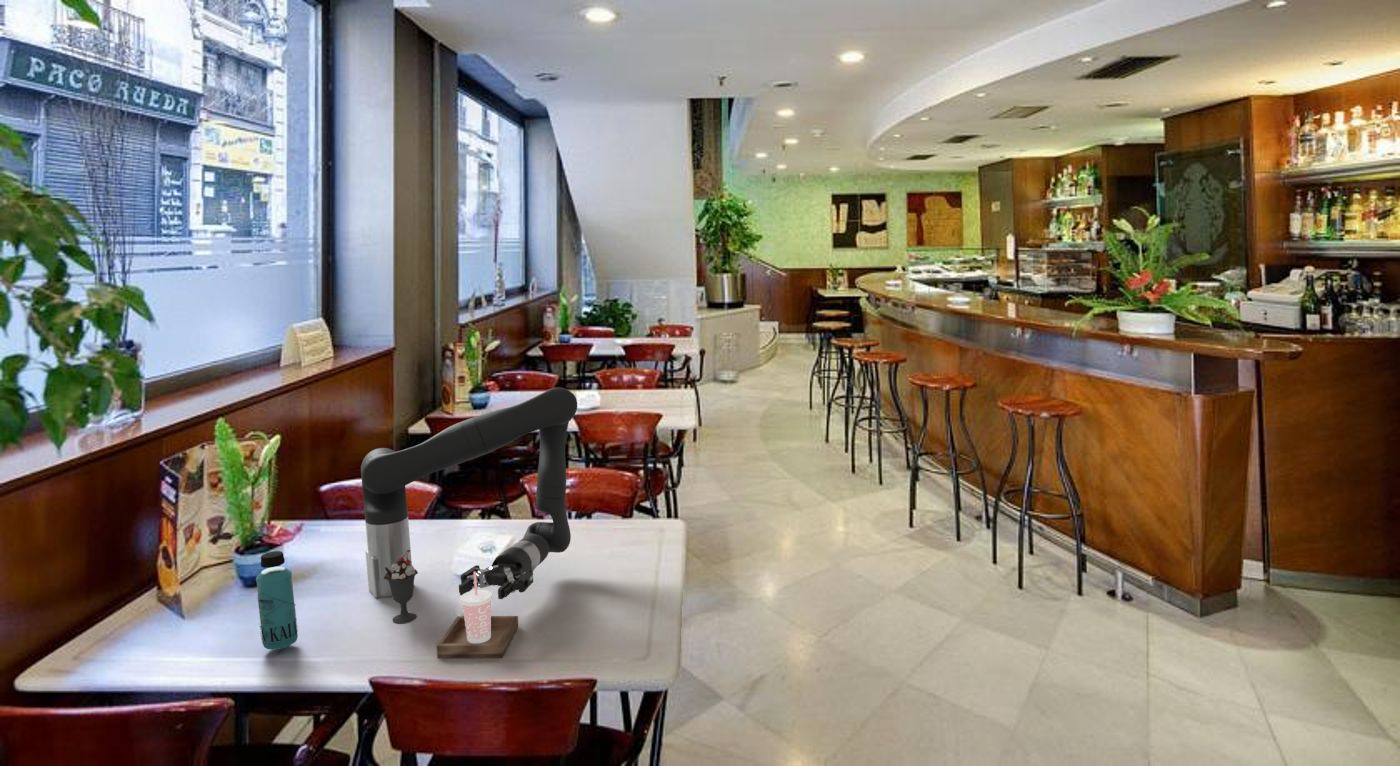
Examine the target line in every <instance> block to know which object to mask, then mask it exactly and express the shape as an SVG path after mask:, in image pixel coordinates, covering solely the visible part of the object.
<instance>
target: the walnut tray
mask: <svg viewBox="0 0 1400 766" xmlns="http://www.w3.org/2000/svg"><path fill="white" fill-rule="evenodd" d="M518 629H519V616H518V615H491V638H490V639H489V640H488V641H486V642H483V643H470V642H468V641H467V633H466V626H465V619H464V615H461V616H460V615H459V616H457V617H456V618H455V620H454V621H453V622H452V623H451V625H450V626H449V628H448V629H447V630H446V632H445V634H444V635H443V636H442V637H441V639H440V640H439V642H438V643H437V644H436V655H437V659H502V658H503V657H504V655H505V654H506V652H507V650H508V648H509V646H510V645H511V643H512V641H513V639H514V637H515V635H516V633H517V631H518Z"/></svg>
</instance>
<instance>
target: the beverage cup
mask: <svg viewBox="0 0 1400 766" xmlns="http://www.w3.org/2000/svg"><path fill="white" fill-rule="evenodd" d="M473 584H474V587H475V588H474V589H472V590H470V591H469V592H466V593H464V594H463V595H460V604H461V605H462V610H463V611H462V612H463V616H464V619H465V626H466V633H467V641H468V642H470V643H483V642H486V641H488V640H489V639H490V638H491V616H492V600H493V593H492V592H491V590H488V589H478V587H477V580H476V572H474V582H473Z"/></svg>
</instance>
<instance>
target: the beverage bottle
mask: <svg viewBox="0 0 1400 766" xmlns="http://www.w3.org/2000/svg"><path fill="white" fill-rule="evenodd" d="M283 564H285V556H284V552H283V551H279V550H275V551H267V552H265V553H263V554H261V556H260V566H261V568H263V570H262V571H260V573H258V575H257V576H256V577H255V581H256V588H257V604H258V613H259V621H260V622H259V624H260V625H259V628H260V633H261V634H260V638H261V642H262V643H261V644H262V645H263V648H264V649H267V650H279V649H284V648H287V647H289V646H292V645H293V644H295V643H296V642H297V641H298V637H299V634H298V629H299V628H298V623H297V620H298V619H297V614H296V613H297V612H296V603H295V597H294V585H293V572H292V571H291V570H290V569H288V568H286V567H285V566H281V565H283ZM264 568H265V569H264Z"/></svg>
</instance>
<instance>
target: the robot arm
mask: <svg viewBox="0 0 1400 766" xmlns="http://www.w3.org/2000/svg"><path fill="white" fill-rule="evenodd" d="M577 410H578V400H577V398H576V395H574V393H573V392H572V391H570V390H569V389H567V388H564V387H551V388H549V389H547V390H546V391H544V392H542V393H540V394H538V395H536V396H533V397H532V398H530V399H528V400H525V401H523V402H521V403H518V404H515V405H513V406H509V407H508V406H507V407H505V408H500V409H496V410H494V411H489V412H486V413H483V414H480V415H476V416H473V417H470V418H468V419H465V420H463V421H460V422H457V423H454V424H452V425H450V426H449V427H446V428H445V429H443V430H442V431H441V430H440V432H438V433H437V434H434V435H433V436H432V437H430V438H429V439H427V440H424V441H423V442H421V443H419V444H417V445H414V446H411V447H408V448H405V449H401V450H398V451H395V450H393V449H390V448H389V447H387V448H386V447H380V448H375V449H373V450H371V451H370V452H368V453H367V454H366V455H365V457H364V458H363V459H362V463H361V465H360V474H361V475H360V476H361V485H362V486H361V488H362V497H363V512H364V521H365V532H366V543H367V544H366V545H367V550H365V560H366V561H365V562H366V573H367V582H368V591H369V592H370V594H372V595H373V596H374V598H377V599H378V598H382V597H383V598H384V597H386V598H387V597H392V593H391V588H390V584H389V581H388V580H386V579H384V576H385V574H386V573H388V572H387V571H386V569H385V567H387V568H388V569H389V570H390V571H391V567H392V565H393V564H394V563H395V562H397V561H398V560H399V558H402V557H403V556H404V555H405V554H406V555H405V556H404V557H403V558H404V561H406V560H407V557H408V560H410V561H411V563H410V565H412V566H413V563H412V551H411V550H412V549H411V548H412V547H411V539H410V538H411V537H410V536H411V535H410V525H409V524H410V521H409V512H408V509H409V508H408V501H407V492H406V486H408V485H409V484H411V483H413V482H415V481H418V480H420V479H421V478H424V477H426V476H428V475H431V474H433V473H436V472H439V471H442V470H445V469H448V468H452V467H453V466H457V465H460V464H463V463H465V462H468V461H471V460H474V459H478V458H479V457H482V456H485V455H487V454H489V453H490V454H491V453H492V452H495V451H496V450H498V449H500V448H502V447H504V446H506V445H508V444H510V443H512V442H513V441H516V440H517V439H519V438H521V437H522V436H525V435H528V434H529V433H533V432H536V431H538V430H539V432H538V433H539V456H538V467H537V468H538V469H537V479H536V492H535V494H536V495H535V497H536V498H535V507H536V510H538V511H539V512H542V513H546V514H549V515H550V517H551V519H552V522H551V521H550V522H546V521H545V522H544V521H537V522H534V523H531V524H529V526H528V527H527V529H526V531H525V533H524V535H523V538H521V539H520V540H518V542H515V543H513V544H512V545H511V546H509V547H507V549H505V550H504V551H502V552H501V553H500V554H498V555H497V556H496V557H495V558H494V560H493V561H492V564H491V566H488V567H486V568H484V569H481V568H480V565H477V564H475V565H474V566H472V567H470V568H469V569H467V570H466V571H464V572H463V573H462V574H460V580H461V581H460V584H459V585H458V591H459V592H458V593H459V595H460V596H462V595H463V594H464V593H466V592H469V591H473V589H475V587H474V572H476V581H477V588H481V589H483V588H487V587H491V586H494V587H495V586H497V587H498V586H499V587H498V590H497V598H498V600H503V599H504V598H506V597H508V596H509V595H510V594H514V593H516V591H518V593H524V592H526V590H528V588H529V587H530V586H531V585H532V584H533V583H534V571H535V569H536V568H538V566H539V565H540V564H541V563H543V561H545V560H546V558H547V557H548V555H549V553H559V554H560V553H563V552H566V550H567V549H568V548H569V546H570V544H571V539H572V537H571V536H572V534H571V529H570V524H569V520H568V514H567V509H566V493H567V468H566V467H567V465H566V463H567V462H566V440H567V431H568V428H569V422H570V421H572V420H573V418H574V417H575V415H576V414H577V412H578V411H577ZM407 550H410V552H409V553H408V552H407ZM406 552H407V553H406ZM407 554H408V556H407ZM484 580H485V581H484Z"/></svg>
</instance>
